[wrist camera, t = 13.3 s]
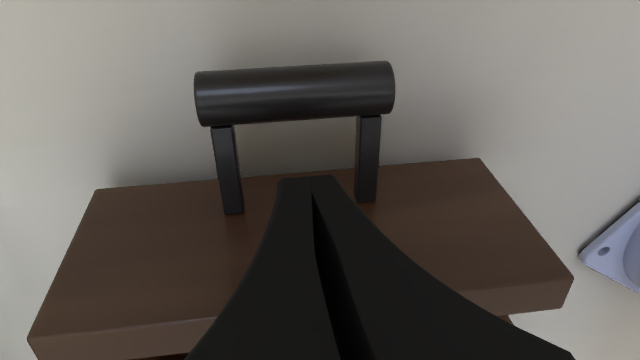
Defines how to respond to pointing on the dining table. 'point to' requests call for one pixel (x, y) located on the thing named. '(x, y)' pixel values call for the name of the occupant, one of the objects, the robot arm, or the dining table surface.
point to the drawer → (253, 216)
